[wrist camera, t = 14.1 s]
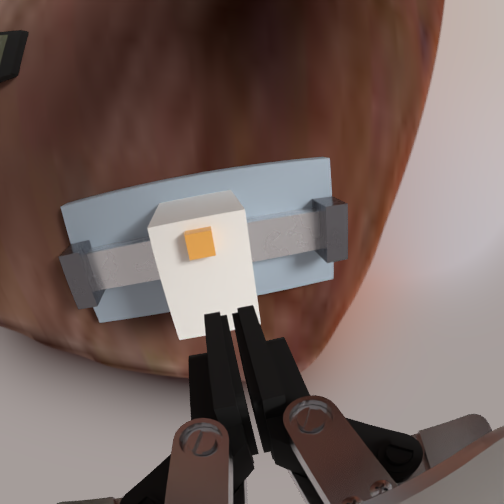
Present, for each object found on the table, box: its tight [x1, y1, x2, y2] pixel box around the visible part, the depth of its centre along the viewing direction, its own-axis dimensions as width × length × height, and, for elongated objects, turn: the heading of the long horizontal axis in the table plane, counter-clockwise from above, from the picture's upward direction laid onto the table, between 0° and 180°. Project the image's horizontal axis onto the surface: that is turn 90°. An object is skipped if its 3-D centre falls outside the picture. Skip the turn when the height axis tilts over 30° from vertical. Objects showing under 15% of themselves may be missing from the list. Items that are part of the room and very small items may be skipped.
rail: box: [59, 196, 348, 309], centre depth 24 cm, size 24×5×3 cm, turn 97°
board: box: [61, 157, 333, 323], centre depth 26 cm, size 24×12×2 cm, turn 97°
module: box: [147, 190, 261, 340], centre depth 22 cm, size 6×8×8 cm
